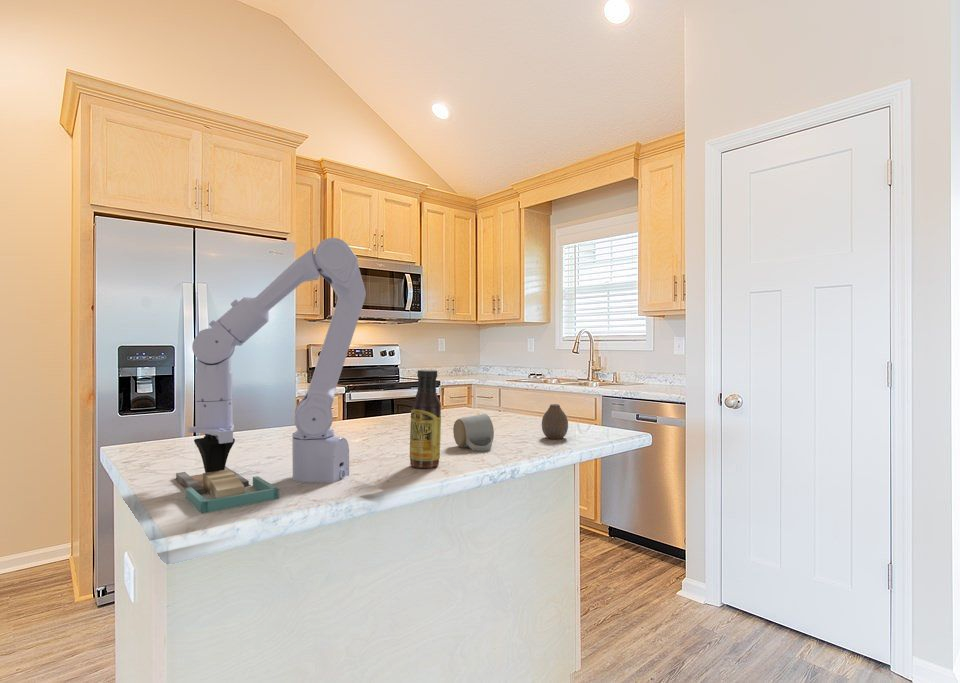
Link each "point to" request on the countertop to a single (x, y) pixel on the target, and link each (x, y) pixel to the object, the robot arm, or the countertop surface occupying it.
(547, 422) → the vase
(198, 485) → the slot track
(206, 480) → the chip
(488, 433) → the ceramic mug
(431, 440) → the sauce bottle
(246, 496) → the teal u-shaped rail
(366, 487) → the countertop surface
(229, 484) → the tan wooden block
